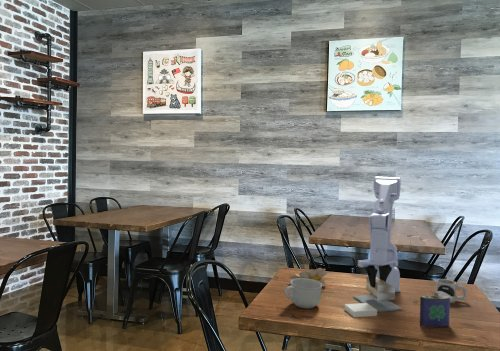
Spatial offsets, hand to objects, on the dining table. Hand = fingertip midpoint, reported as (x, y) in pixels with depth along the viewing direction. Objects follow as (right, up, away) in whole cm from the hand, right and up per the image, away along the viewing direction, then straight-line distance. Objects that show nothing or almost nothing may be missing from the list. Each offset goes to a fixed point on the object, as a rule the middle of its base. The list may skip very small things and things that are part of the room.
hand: (377, 286), depth 148 cm
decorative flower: (-20, -5, +21) cm, 29 cm away
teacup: (-27, -6, -4) cm, 28 cm away
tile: (-9, -5, -5) cm, 12 cm away
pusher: (0, -3, 0) cm, 3 cm away
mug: (+28, -7, +6) cm, 30 cm away
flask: (+12, -7, -19) cm, 23 cm away
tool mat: (0, -6, 0) cm, 6 cm away
